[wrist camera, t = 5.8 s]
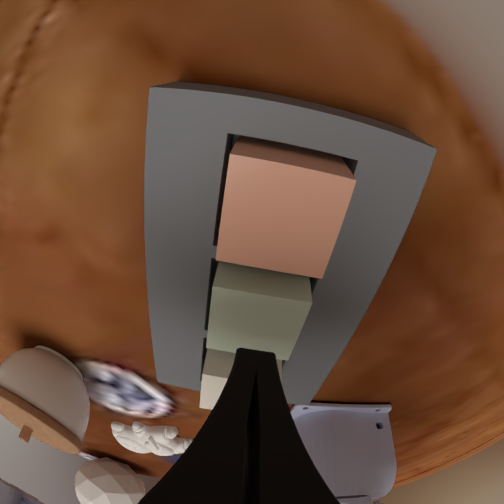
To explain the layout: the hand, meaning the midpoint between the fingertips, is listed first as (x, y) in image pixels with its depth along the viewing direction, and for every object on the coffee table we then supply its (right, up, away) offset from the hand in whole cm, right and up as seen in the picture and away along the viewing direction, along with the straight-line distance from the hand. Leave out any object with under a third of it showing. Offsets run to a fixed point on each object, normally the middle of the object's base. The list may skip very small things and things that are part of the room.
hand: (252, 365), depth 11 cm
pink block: (+1, +7, +1) cm, 7 cm away
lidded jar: (-20, -7, +14) cm, 25 cm away
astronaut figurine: (-12, -18, +22) cm, 31 cm away
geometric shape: (-27, -38, +35) cm, 58 cm away
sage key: (0, +3, +4) cm, 4 cm away
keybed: (0, +4, +5) cm, 6 cm away
